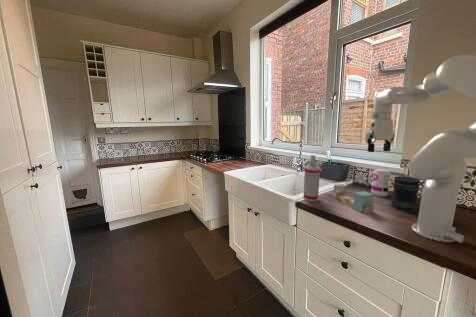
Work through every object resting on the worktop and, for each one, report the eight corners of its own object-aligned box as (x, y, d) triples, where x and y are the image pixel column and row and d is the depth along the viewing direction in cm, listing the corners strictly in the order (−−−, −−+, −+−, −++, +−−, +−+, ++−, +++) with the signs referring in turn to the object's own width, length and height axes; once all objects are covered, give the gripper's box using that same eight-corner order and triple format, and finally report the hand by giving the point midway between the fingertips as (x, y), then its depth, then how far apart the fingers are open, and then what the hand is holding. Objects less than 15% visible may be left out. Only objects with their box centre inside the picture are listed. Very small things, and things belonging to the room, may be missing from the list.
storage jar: (420, 212, 98) (425, 182, 95) (396, 210, 100) (401, 181, 97) (407, 204, 108) (411, 176, 105) (386, 203, 110) (390, 175, 107)
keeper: (371, 210, 100) (373, 194, 98) (361, 212, 98) (362, 195, 97) (363, 206, 104) (364, 191, 103) (353, 207, 103) (354, 192, 102)
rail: (373, 213, 98) (375, 198, 96) (366, 214, 97) (367, 199, 95) (339, 196, 120) (340, 184, 118) (333, 197, 119) (334, 184, 117)
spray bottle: (300, 198, 117) (302, 154, 113) (308, 195, 122) (310, 153, 117) (312, 202, 111) (315, 156, 107) (320, 199, 116) (323, 155, 111)
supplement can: (373, 196, 120) (376, 171, 117) (369, 191, 127) (371, 168, 125) (389, 197, 117) (393, 172, 115) (384, 192, 125) (387, 168, 122)
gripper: (373, 116, 95) (370, 153, 97) (403, 116, 99) (399, 151, 101) (360, 117, 102) (358, 151, 104) (388, 117, 106) (385, 150, 108)
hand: (378, 151), depth 103 cm, fingers open, 9 cm apart
